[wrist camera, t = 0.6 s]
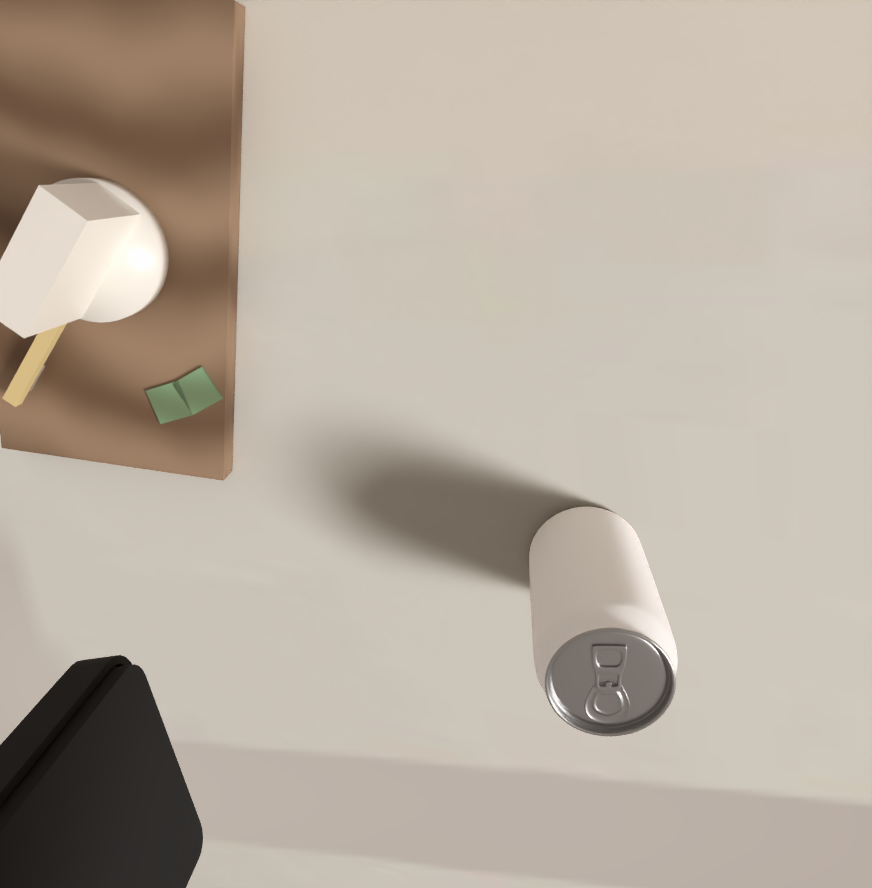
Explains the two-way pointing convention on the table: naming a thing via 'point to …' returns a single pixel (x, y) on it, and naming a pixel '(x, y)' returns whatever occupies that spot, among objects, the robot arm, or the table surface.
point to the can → (599, 624)
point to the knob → (77, 265)
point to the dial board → (166, 193)
